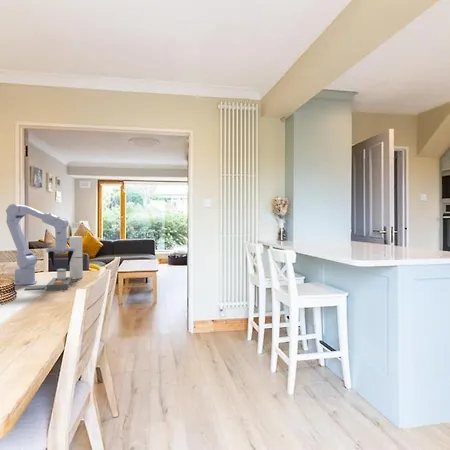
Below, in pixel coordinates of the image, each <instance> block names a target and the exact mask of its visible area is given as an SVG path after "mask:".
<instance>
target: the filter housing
mask: <svg viewBox="0 0 450 450" xmlns="http://www.w3.org/2000/svg"><path fill="white" fill-rule="evenodd" d="M55 281H62V284H54V282H55ZM72 283H73V279H72V277H70V276H69V277H67V276H66V280H57V277H52V279H51V280H49V282H48V283H47V284H45V285H46V288H45V289H46V291H55V290H68V289H69V288H70V286H71V285H72Z"/></svg>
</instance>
